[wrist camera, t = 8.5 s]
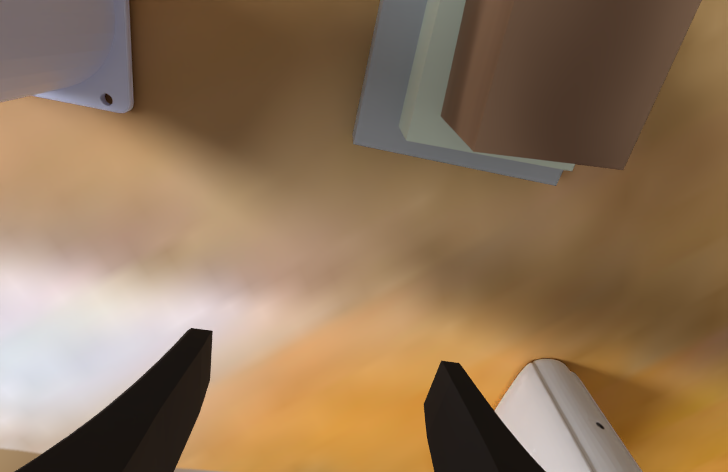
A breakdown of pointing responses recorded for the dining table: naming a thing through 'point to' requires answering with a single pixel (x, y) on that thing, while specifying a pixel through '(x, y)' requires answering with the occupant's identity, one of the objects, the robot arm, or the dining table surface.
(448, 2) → the tower top slab
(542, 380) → the photo printer
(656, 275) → the dining table surface
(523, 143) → the walnut cube
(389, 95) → the tower base slab
